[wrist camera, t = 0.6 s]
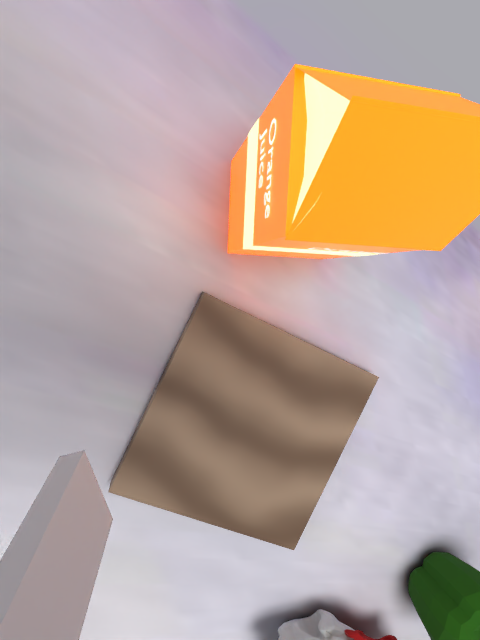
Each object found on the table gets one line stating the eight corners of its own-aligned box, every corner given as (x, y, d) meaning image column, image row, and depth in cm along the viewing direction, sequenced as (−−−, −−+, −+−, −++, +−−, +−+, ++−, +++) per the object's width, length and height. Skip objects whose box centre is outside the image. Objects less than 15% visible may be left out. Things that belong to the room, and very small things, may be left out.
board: (202, 291, 31) (204, 292, 30) (369, 373, 36) (378, 377, 34) (110, 481, 31) (108, 492, 30) (288, 538, 36) (293, 550, 34)
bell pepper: (423, 623, 41) (505, 731, 31) (382, 581, 39) (456, 683, 29) (474, 568, 42) (571, 658, 32) (437, 524, 40) (528, 606, 30)
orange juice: (230, 159, 30) (359, -44, 11) (329, 171, 32) (587, 16, 13) (226, 255, 31) (339, 226, 12) (323, 261, 33) (555, 243, 14)
